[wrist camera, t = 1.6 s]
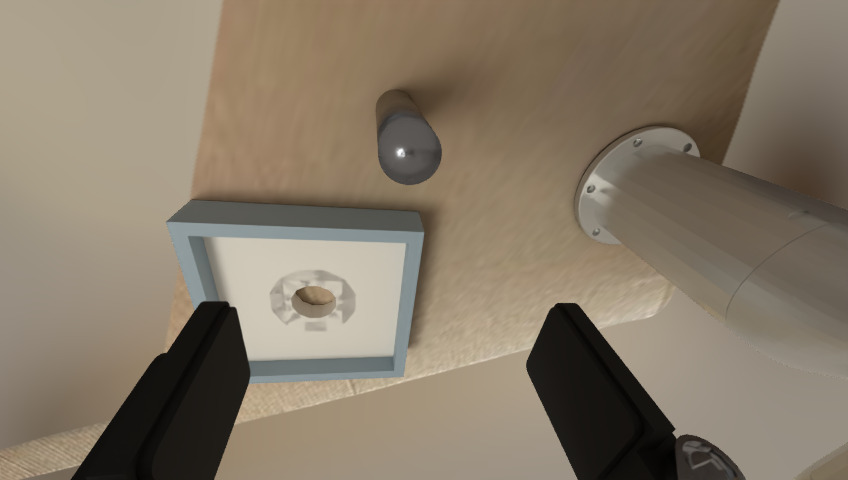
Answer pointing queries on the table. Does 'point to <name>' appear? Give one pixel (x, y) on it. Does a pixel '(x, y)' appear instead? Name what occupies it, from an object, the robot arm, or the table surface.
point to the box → (306, 283)
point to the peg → (405, 140)
